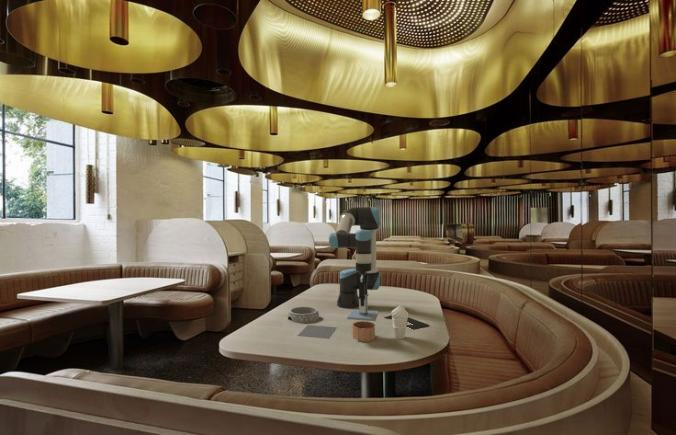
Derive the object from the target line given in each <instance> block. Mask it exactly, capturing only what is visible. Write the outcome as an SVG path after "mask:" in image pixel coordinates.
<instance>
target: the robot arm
mask: <svg viewBox="0 0 676 435" xmlns="http://www.w3.org/2000/svg"><path fill="white" fill-rule="evenodd" d="M380 214H381V213H380V210H379V208H378V207H374V206H361V207H360V206H359V207H358V206H353V207H349V208H348V209H346V210H344V211H343V212H342V213H341V214H340V216H339V218H338V222H339V223H338V226H337V228H336V230H335V232H331V233H329V236H328V246H329V247H330V248H333V249H334V248H336V249H337V248H338V249H339V248H341V249H347V248H349V249H355V255H354V258H355V268H348V269H343V270H341V271H340V272H339V294H338V296H337V297H338V298H337V301H336V306H337V307H339V308H343V309H353V308H354V309H355V308H359V299H360V313H366V299H365V294H366V295H368V296H369V294H368V293H369V292H368V291H378V290H379V289H380V283H381V275H382V274H381V271H379V268H378V267H377V231H378V230H379V227H380V226H382V223H381V222H382V221H381V215H380ZM353 226H355V227H357V226H358V227H359V229H357V230H356V231H355V233H353V232H351V230H352V227H353Z"/></svg>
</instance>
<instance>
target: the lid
mask: <svg viewBox="0 0 676 435" xmlns="http://www.w3.org/2000/svg"><path fill="white" fill-rule="evenodd" d="M368 298H369V294H368V295H366V294H365V299H366V313H360V299H359V307H358V309H355V308H354V309H353V308H351V309H352V310H351V311H350V312H349V314H348V316H347V317H346V318H347V320H354V321H368V322H376V321H377V318H378V315H379V310H370V309H369V310H368V307H369V306H368V301H369V300H368Z"/></svg>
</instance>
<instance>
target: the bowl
mask: <svg viewBox="0 0 676 435" xmlns="http://www.w3.org/2000/svg"><path fill="white" fill-rule="evenodd" d="M350 333H351V338H353V339H354V340H357V342H361V343H362V342H364V343H367V342H371V341H372V342H373V341H374V340H375V338H376V324H375V323H374V322H372V321H365V320H357V321H354V322H352V323H351V332H350Z"/></svg>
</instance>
